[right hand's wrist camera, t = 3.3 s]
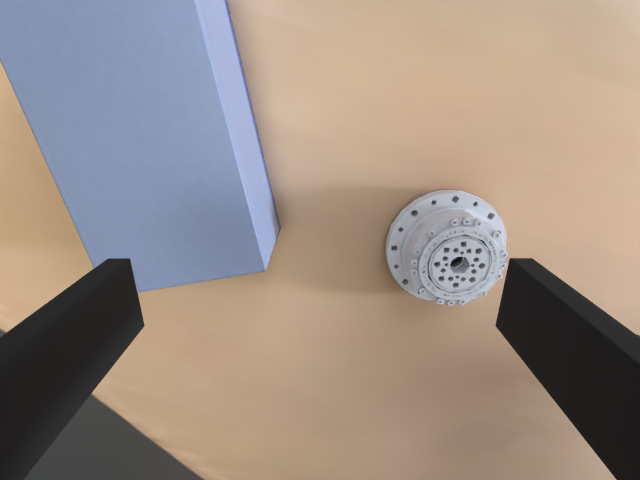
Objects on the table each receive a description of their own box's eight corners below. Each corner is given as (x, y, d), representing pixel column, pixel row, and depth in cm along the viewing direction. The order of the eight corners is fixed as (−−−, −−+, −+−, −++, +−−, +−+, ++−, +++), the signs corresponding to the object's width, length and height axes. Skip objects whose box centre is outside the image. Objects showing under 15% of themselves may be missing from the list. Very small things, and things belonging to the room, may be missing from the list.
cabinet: (64, -13, 25) (-60, -70, 17) (215, -48, 24) (162, -125, 16) (160, 249, 32) (106, 298, 24) (280, 228, 31) (266, 271, 23)
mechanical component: (510, 190, 30) (391, 186, 29) (541, 204, 25) (402, 199, 25) (485, 295, 33) (379, 292, 33) (509, 322, 29) (388, 318, 29)
